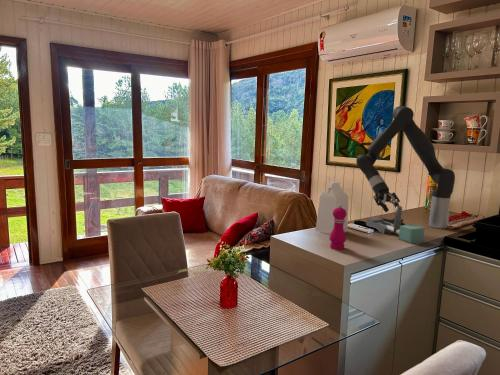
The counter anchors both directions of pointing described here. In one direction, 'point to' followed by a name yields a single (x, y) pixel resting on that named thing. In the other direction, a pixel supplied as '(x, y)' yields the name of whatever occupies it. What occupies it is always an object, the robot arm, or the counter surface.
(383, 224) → the grey grooved block
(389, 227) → the grey piece
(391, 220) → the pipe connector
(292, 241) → the counter surface
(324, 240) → the counter surface
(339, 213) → the pepper mill
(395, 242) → the counter surface
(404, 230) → the teal block
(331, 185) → the milk
